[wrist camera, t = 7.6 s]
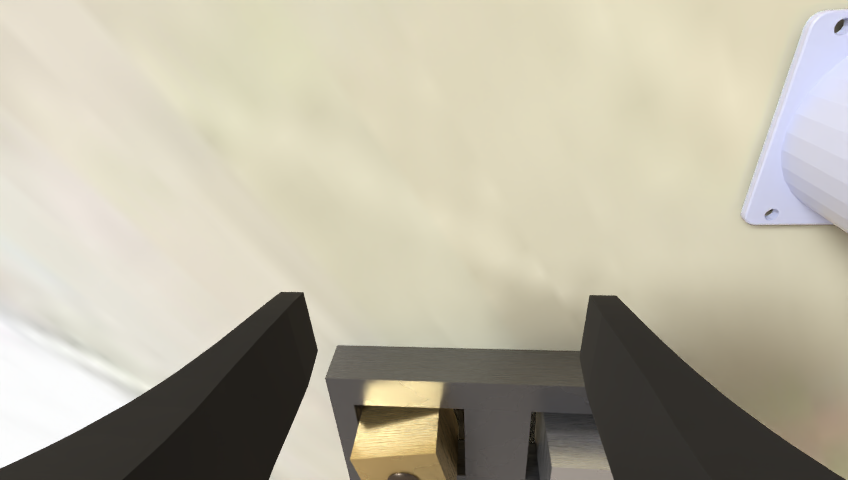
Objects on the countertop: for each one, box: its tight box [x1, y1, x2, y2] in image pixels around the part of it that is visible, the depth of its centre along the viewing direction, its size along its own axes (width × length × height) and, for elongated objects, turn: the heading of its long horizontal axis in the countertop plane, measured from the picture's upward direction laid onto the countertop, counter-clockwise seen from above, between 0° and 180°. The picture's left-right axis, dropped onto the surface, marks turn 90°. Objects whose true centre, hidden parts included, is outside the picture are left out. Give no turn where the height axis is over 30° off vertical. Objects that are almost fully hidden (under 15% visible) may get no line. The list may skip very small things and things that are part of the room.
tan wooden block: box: [350, 405, 459, 480], centre depth 25 cm, size 4×4×5 cm
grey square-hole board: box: [325, 346, 592, 480], centre depth 26 cm, size 18×10×2 cm, turn 93°
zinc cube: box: [534, 412, 614, 480], centre depth 24 cm, size 4×4×5 cm
